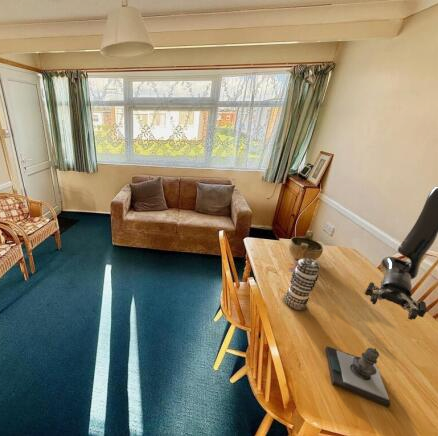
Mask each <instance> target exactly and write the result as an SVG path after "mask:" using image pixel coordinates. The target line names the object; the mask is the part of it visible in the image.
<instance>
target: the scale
mask: <svg viewBox="0 0 438 436" xmlns="http://www.w3.org/2000/svg"><path fill="white" fill-rule="evenodd" d="M324 350H325V356H326V360H327V361H326V362H327V366H328V371H329V377H330V382H331V383H330V384H331V385H332V386H334V387H336V388H337V389H341V390H343V391H346V392H348V393H351V394H353V395H356V396H357V397H361V398H363V399H365V400H367V401H370V402H372V403H374V404H376V405H379V406H382V407H385V408H387V409H388V408H390V406H391V405H392V403H391V401H390V400H391V399H390V398H389V395H388V392H387V390H386V387H385V384H384V382H383V379H382V376H381V374H380V371H379V369H378V368H379V367H378V366H377V363H376V364H374V365H373V366H374V367H375V368H376V374H375V375H371V379H370V380H363V379H360V378H359V377H357V376H356V375H355V374H354V373H353V372H352V371H351V369H350V366H351V364H353V358H354V357H357V356H356V355H353V354H351V353H348V352H345V351H342V350H339V349H337V348H333V347H331V346H326V347H325V349H324Z"/></svg>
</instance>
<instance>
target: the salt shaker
mask: <svg viewBox="0 0 438 436" xmlns="http://www.w3.org/2000/svg"><path fill="white" fill-rule="evenodd" d="M379 357H380V352H378V350H377V348H373V347H367V349H366V350H365V352H362V353H361V356H356V357H354V358H353V364H351V366H350V369H351V371H352V372H353V373H354V374H355V375H356V376H357V377H359V378H360V379H363V380H370V379H371V375H375V374H376V368H375V367H374V366H373V365H374V364H376V365H377V363H378V361H377V360H378V358H379Z"/></svg>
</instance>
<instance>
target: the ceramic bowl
mask: <svg viewBox="0 0 438 436" xmlns="http://www.w3.org/2000/svg"><path fill="white" fill-rule="evenodd" d="M314 233H315V232H314V231H313V230H307V231H306V233H305V235H304V236H293V237H292V238H290V240H289V243H288V251H289V253H290V255H291V256H292V257H293V258H294V259H295V260H297V261H298V260H300V259H304V258H309V259H312V260H314V261H317V260H318V259H319V258H321V256H322V254H323V251H324V245H323V244H321V242H318V241H317V240H314V239H313V236H314Z"/></svg>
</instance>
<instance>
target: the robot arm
mask: <svg viewBox="0 0 438 436" xmlns="http://www.w3.org/2000/svg"><path fill="white" fill-rule="evenodd" d="M437 238H438V185H437V186H435V187H434V188H432V189H431V190H430V192H429V193H428V195H427V197H426V200H425V202H424V205H423V207H422V210H421V211H420V214H419V216H418V218H417V219H416V221H415V223H414V225H413V226H412V228H411V230H410V231H409V232H408V233H407V235H406V236H405V238H404V239H403V241H402V242H401V243H400V245H399V247H398V248H397V253H399V254H400V255H402V256H403V257H405V258H406V259H408V260H409V261H407V260H405V259H401V258H399V257H396V256H386V257H384V258H382V260H381V261H380V265H379V266H380V270H381V272H382V274H383V277H382V279H381V282H380V286H377V285H376V284H375V283H374V282H372V281H370V282H369V284H368V286H367V288H366V289H365V292H364V294H365V296H369V297H370V299H369V301H370V303H371V304H372V305H374V306H375V305H376V303H377V302H378V300H380V301H382V300H386V301H387V302H392V303H393V304H395V305H398V306H400V308H402V310H406V311H407V313H408V314H407V315H408V316H407V319H408V320H409V321H412V320H416V318H417V317H420V318H424V316H425V315H426V313H427V312H428V310H427V305H426V302H425V301H423V300H419V301H417V300H414V299H413V297H412V288H413V287H412V280H414V279H416V278H417V276H418V275H419V270H420V266H421V264H422V263H421V262H422V260H423V258H424V257H425V255H426V254H427V252H428V251H429V250H430V249H431V247H432V246H433V244H434V243H435V241H436V239H437Z"/></svg>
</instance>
